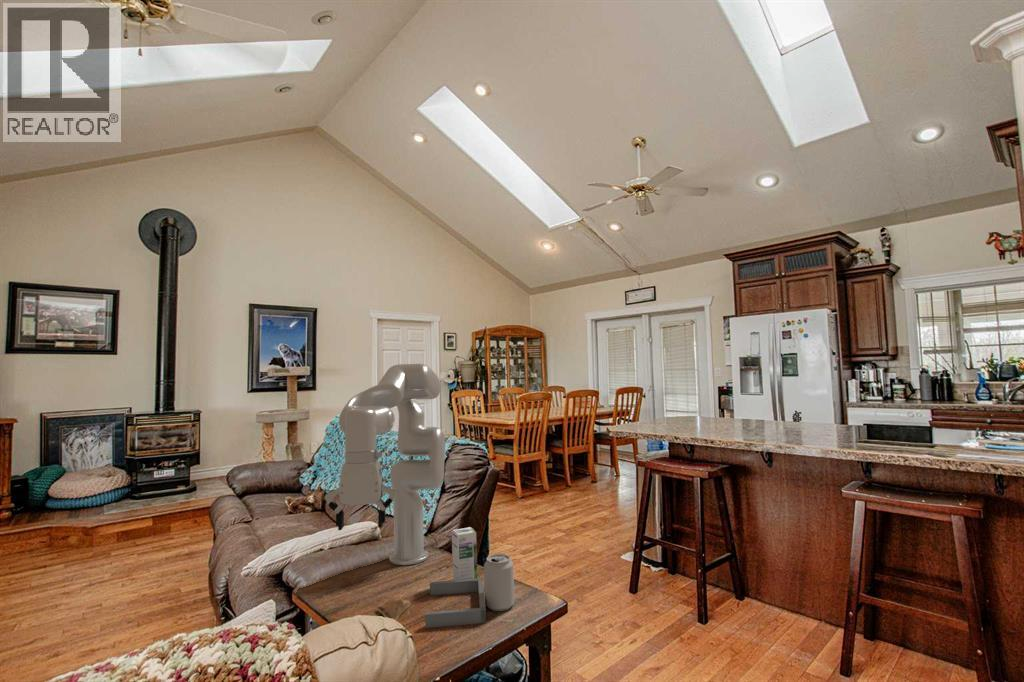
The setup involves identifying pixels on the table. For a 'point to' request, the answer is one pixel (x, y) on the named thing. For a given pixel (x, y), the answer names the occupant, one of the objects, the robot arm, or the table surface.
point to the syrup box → (464, 554)
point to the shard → (393, 608)
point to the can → (499, 582)
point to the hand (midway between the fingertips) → (361, 527)
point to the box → (462, 614)
